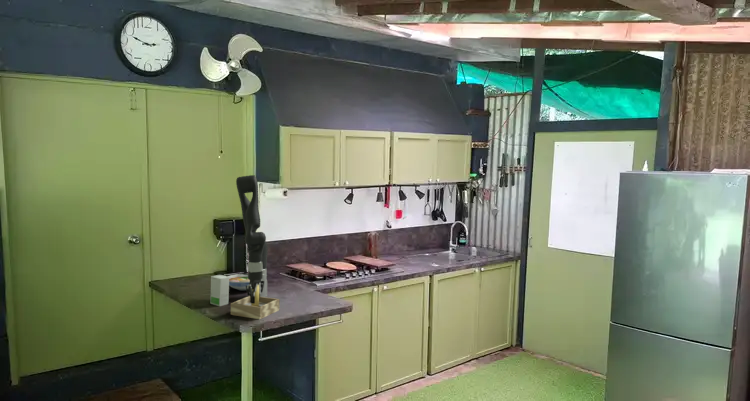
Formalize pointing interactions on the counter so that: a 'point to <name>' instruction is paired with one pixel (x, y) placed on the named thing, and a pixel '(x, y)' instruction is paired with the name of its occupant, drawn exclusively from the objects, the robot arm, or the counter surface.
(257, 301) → the peg
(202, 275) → the counter surface
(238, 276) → the ramen bowl
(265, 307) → the box
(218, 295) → the skincare box
